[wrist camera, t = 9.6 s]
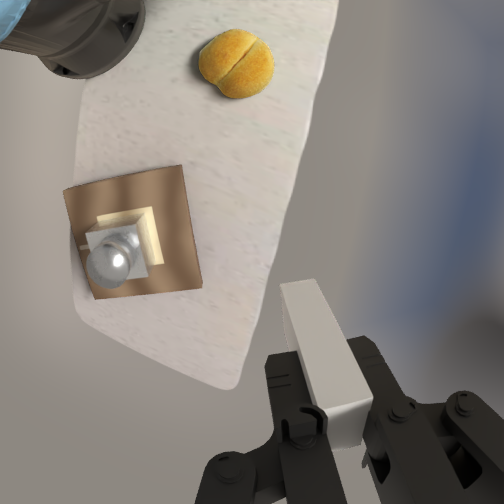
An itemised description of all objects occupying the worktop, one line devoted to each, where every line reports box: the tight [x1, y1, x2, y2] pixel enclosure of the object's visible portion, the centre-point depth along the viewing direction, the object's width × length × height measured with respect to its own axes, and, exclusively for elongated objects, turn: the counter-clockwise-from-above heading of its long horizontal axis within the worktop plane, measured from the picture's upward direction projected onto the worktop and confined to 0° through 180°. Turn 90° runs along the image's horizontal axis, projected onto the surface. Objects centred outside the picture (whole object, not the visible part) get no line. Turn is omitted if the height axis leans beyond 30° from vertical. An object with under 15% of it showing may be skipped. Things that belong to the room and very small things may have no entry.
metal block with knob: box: [85, 213, 156, 289], centre depth 34 cm, size 6×6×8 cm
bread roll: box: [199, 29, 274, 98], centre depth 31 cm, size 8×9×4 cm
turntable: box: [63, 165, 203, 300], centre depth 38 cm, size 16×16×2 cm
